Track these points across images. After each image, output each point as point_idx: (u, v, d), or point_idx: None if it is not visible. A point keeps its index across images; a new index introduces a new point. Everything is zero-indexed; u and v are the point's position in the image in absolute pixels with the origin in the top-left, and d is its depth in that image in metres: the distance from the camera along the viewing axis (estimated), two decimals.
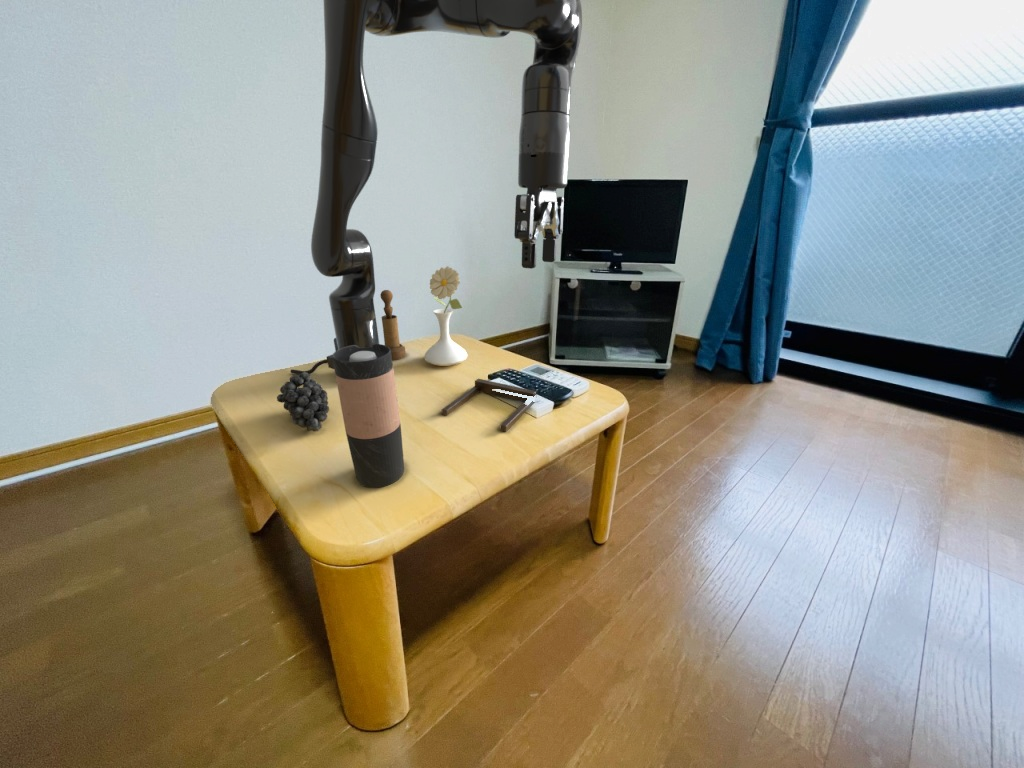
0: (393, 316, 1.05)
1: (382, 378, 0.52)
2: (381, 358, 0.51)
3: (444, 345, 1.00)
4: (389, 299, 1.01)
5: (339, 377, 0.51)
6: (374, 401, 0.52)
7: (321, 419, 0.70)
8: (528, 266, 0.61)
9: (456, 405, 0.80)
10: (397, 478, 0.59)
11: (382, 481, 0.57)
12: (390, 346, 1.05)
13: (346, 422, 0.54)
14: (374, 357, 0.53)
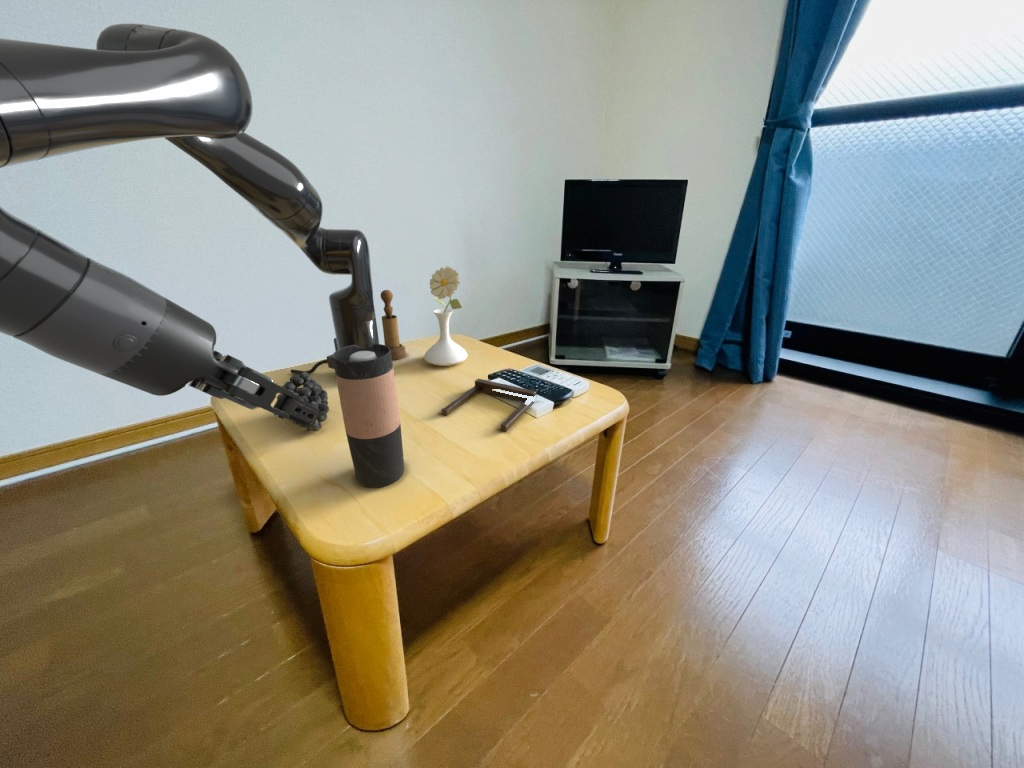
0: (393, 316, 1.05)
1: (382, 378, 0.52)
2: (381, 358, 0.51)
3: (444, 345, 1.00)
4: (389, 299, 1.01)
5: (339, 377, 0.51)
6: (374, 401, 0.52)
7: (321, 419, 0.70)
8: None
9: (456, 405, 0.80)
10: (397, 478, 0.59)
11: (382, 481, 0.57)
12: (390, 346, 1.05)
13: (346, 422, 0.54)
14: (374, 357, 0.53)
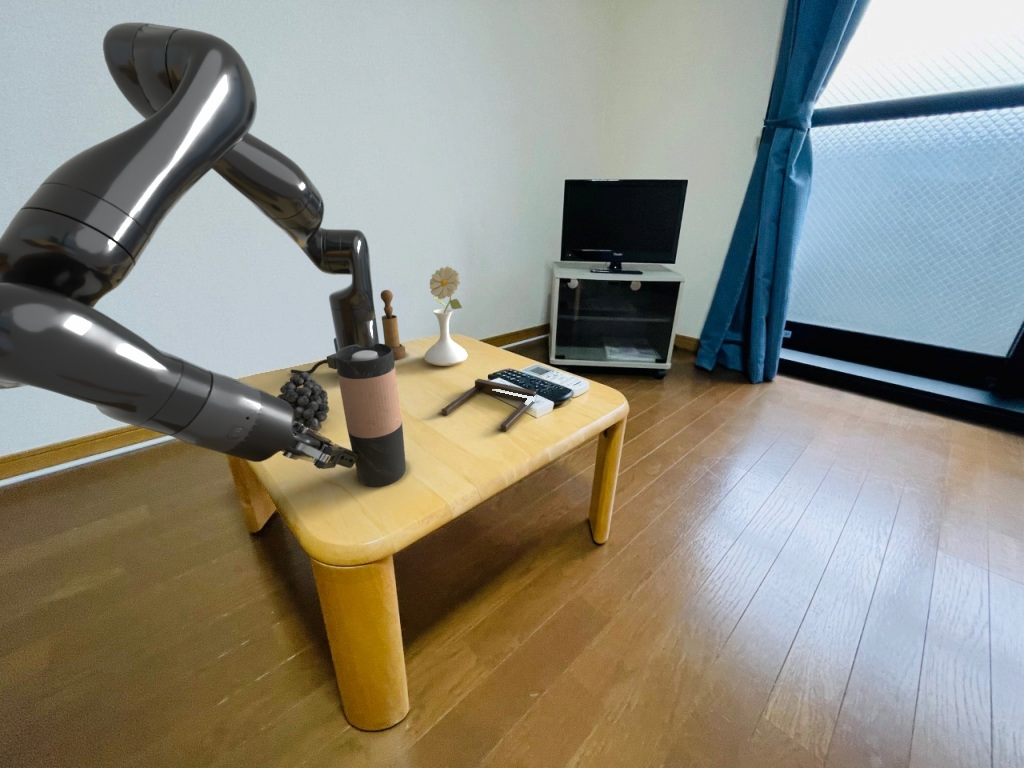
0: (393, 316, 1.05)
1: (385, 377, 0.52)
2: (383, 357, 0.51)
3: (444, 345, 1.00)
4: (389, 299, 1.01)
5: (342, 376, 0.51)
6: (376, 400, 0.52)
7: (321, 419, 0.70)
8: None
9: (456, 405, 0.80)
10: (399, 477, 0.59)
11: (384, 480, 0.58)
12: (390, 346, 1.05)
13: (348, 421, 0.54)
14: (376, 356, 0.53)
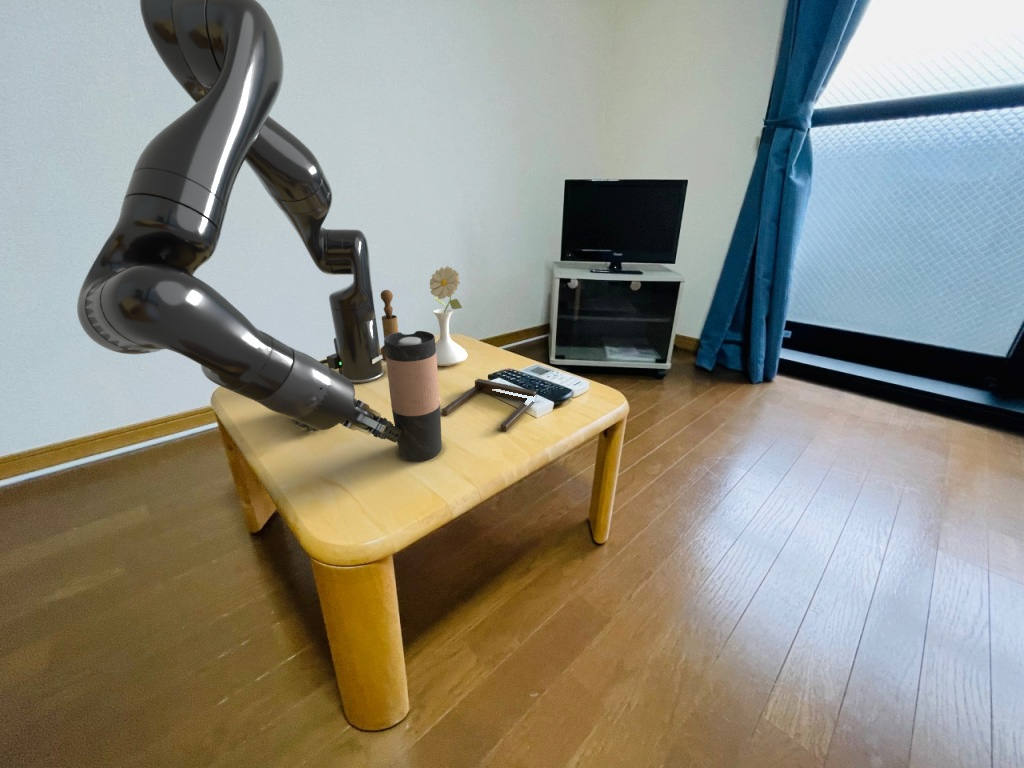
0: (393, 316, 1.05)
1: (429, 360, 0.58)
2: (429, 342, 0.57)
3: (444, 345, 1.00)
4: (389, 299, 1.01)
5: (391, 359, 0.57)
6: (422, 381, 0.58)
7: None
8: None
9: (456, 405, 0.80)
10: (437, 453, 0.65)
11: (425, 455, 0.63)
12: None
13: (395, 401, 0.60)
14: (420, 342, 0.59)
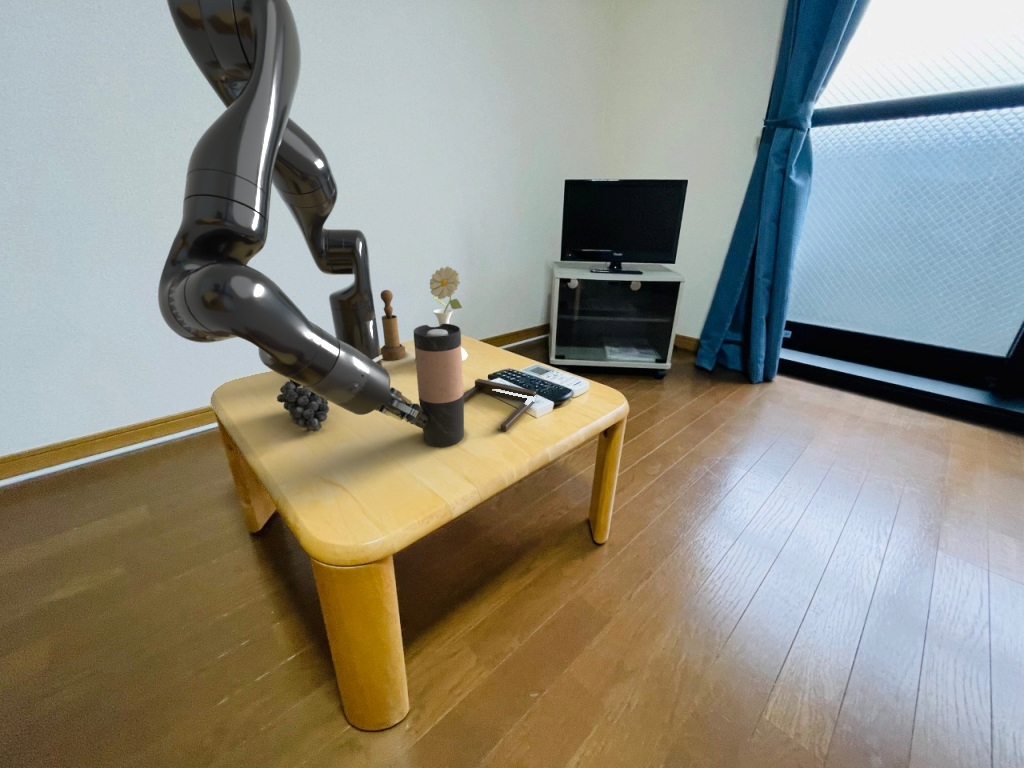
0: (393, 316, 1.05)
1: (456, 350, 0.62)
2: (456, 333, 0.61)
3: None
4: (389, 299, 1.01)
5: (421, 350, 0.61)
6: (449, 370, 0.62)
7: (321, 419, 0.70)
8: None
9: None
10: (460, 439, 0.69)
11: (449, 440, 0.68)
12: (390, 346, 1.05)
13: (423, 389, 0.64)
14: (447, 333, 0.63)
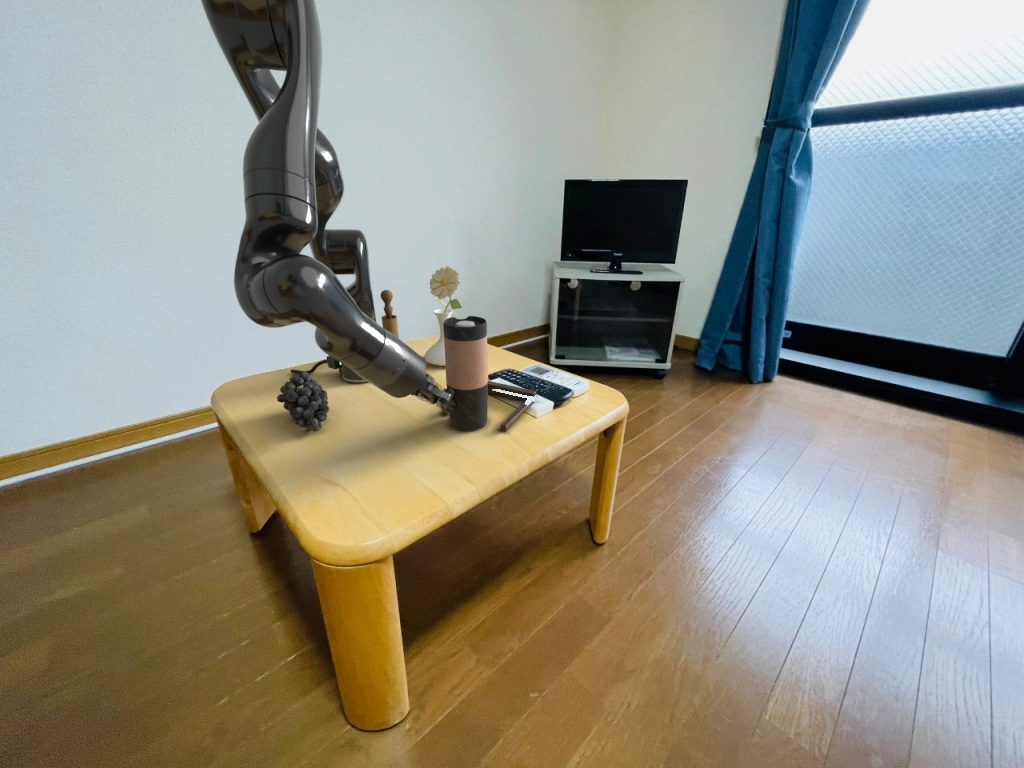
0: (393, 316, 1.05)
1: (483, 340, 0.67)
2: (483, 325, 0.66)
3: None
4: (389, 299, 1.01)
5: (451, 340, 0.66)
6: (476, 359, 0.67)
7: (321, 419, 0.70)
8: None
9: None
10: (484, 424, 0.74)
11: (475, 425, 0.72)
12: None
13: (451, 377, 0.68)
14: (474, 325, 0.68)
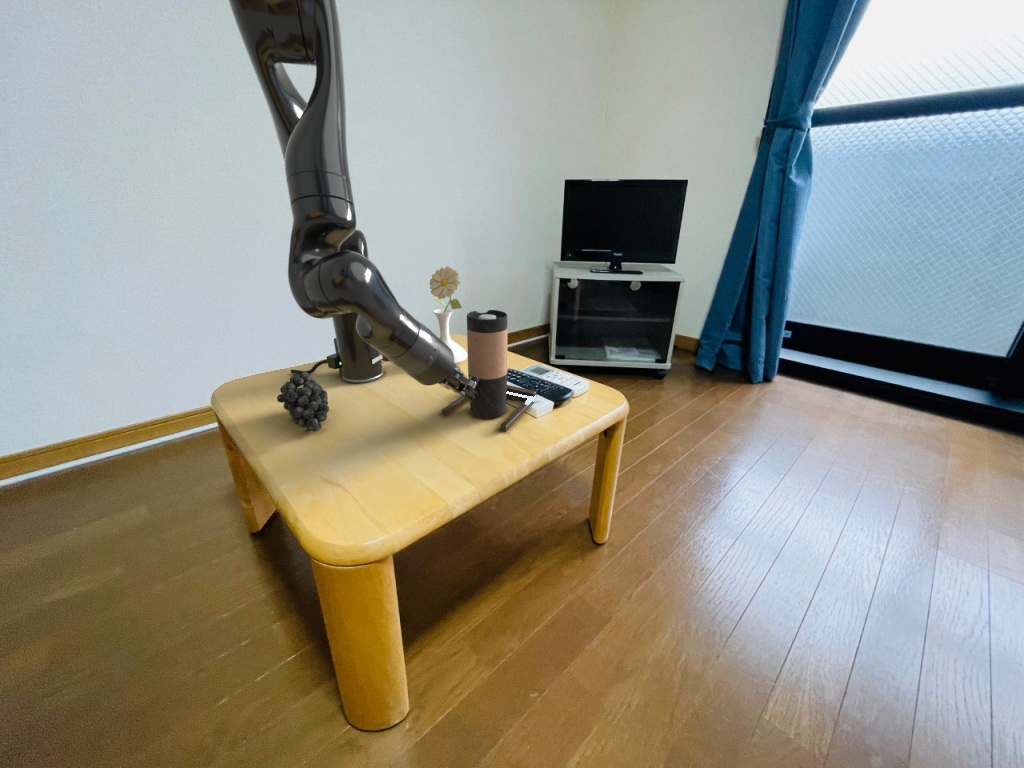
0: None
1: (504, 332, 0.71)
2: (504, 317, 0.70)
3: None
4: None
5: (474, 332, 0.70)
6: (498, 350, 0.71)
7: (321, 419, 0.70)
8: None
9: (456, 405, 0.80)
10: (503, 412, 0.78)
11: (495, 413, 0.77)
12: None
13: (474, 367, 0.73)
14: (496, 318, 0.72)
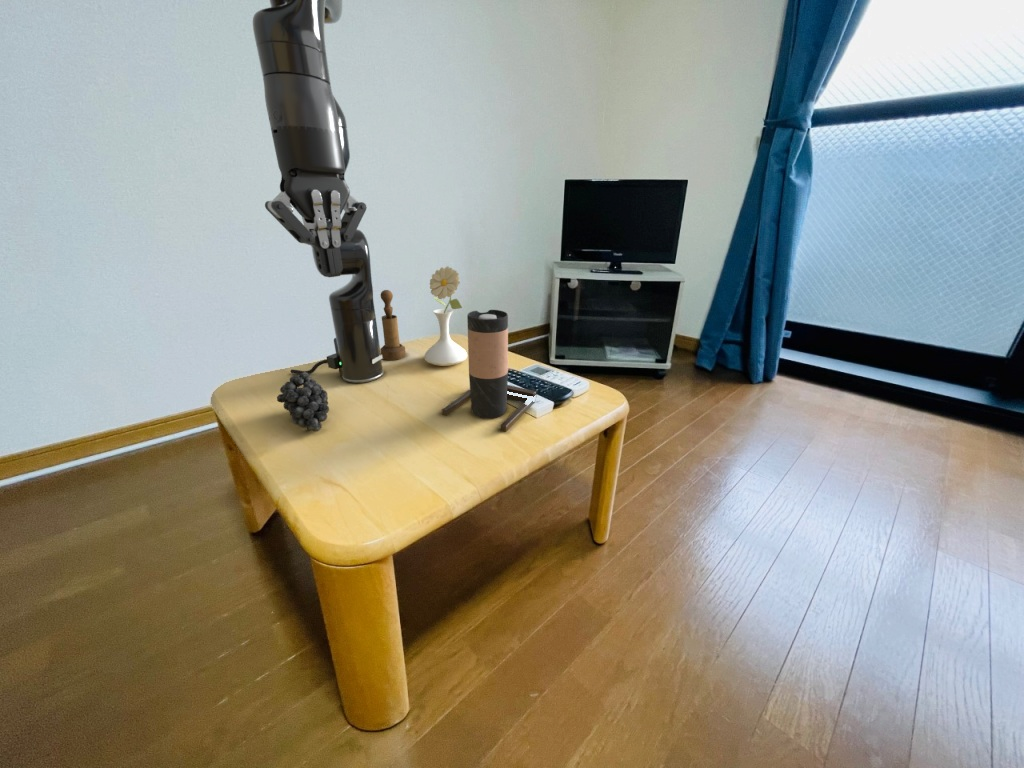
0: (393, 316, 1.05)
1: (504, 332, 0.71)
2: (505, 317, 0.70)
3: (444, 345, 1.00)
4: (389, 299, 1.01)
5: (475, 331, 0.70)
6: (498, 349, 0.71)
7: (321, 419, 0.70)
8: (327, 274, 0.53)
9: (456, 405, 0.80)
10: (504, 412, 0.79)
11: (496, 413, 0.77)
12: (390, 346, 1.05)
13: (475, 367, 0.73)
14: (496, 317, 0.72)
